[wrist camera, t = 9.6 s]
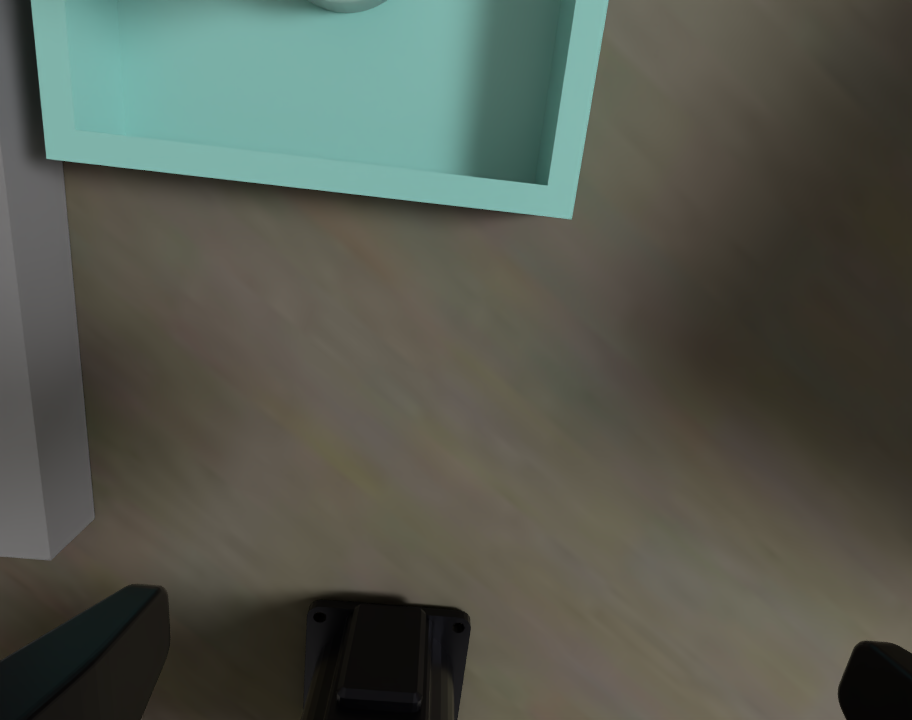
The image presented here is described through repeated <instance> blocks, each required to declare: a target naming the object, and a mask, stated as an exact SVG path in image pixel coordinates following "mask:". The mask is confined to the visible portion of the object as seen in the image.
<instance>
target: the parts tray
mask: <svg viewBox="0 0 912 720" xmlns="http://www.w3.org/2000/svg"><path fill="white" fill-rule="evenodd" d="M607 6H608V0H387V1H386V2H384V3H382V4H380V5H379V6H377V7H374V8H372V9H369V10H366V11H361V12H355V13H341V12H334V11H330V10H326V9H323V8H321V7H318V6H316V5H314V4H312V3H311V2H309V1H307V0H31V7H32V17H33V27H34V37H35V47H36V58H37V68H38V78H39V88H40V98H41V108H42V118H43V128H44V139H45V149H46V159H52V160H61V161H70V162H78V163H87V164H96V165H104V166H113V167H122V168H130V169H139V170H148V171H157V172H165V173H174V174H183V175H191V176H200V177H209V178H217V179H226V180H235V181H243V182H252V183H261V184H270V185H278V186H287V187H296V188H304V189H313V190H322V191H330V192H339V193H348V194H356V195H365V196H374V197H382V198H391V199H400V200H409V201H417V202H426V203H435V204H443V205H452V206H461V207H469V208H478V209H487V210H495V211H504V212H513V213H522V214H530V215H539V216H548V217H556V218H565V219H572V215H573V209H574V203H575V197H576V191H577V185H578V179H579V173H580V167H581V161H582V155H583V149H584V143H585V137H586V131H587V125H588V119H589V114H590V108H591V102H592V96H593V90H594V84H595V78H596V72H597V66H598V60H599V54H600V48H601V42H602V36H603V30H604V24H605V18H606V12H607Z"/></svg>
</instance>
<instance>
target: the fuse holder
mask: <svg viewBox="0 0 912 720" xmlns="http://www.w3.org/2000/svg"><path fill="white" fill-rule="evenodd" d="M94 519H95V514H94V503H93V492H92V481H91V470H90V459H89V448H88V437H87V426H86V415H85V404H84V393H83V382H82V371H81V360H80V349H79V338H78V327H77V316H76V305H75V294H74V283H73V272H72V261H71V250H70V239H69V228H68V217H67V206H66V195H65V184H64V173H63V162H62V161H61V160H52V159H46V149H45V139H44V128H43V118H42V108H41V98H40V88H39V78H38V68H37V58H36V47H35V37H34V27H33V17H32V7H31V0H0V556H2V557H14V558H27V559H39V560H52V559H53V558H54V557H55V556H56V555H57V554H58V553H59V552H60V551H61V550H62V549H63V548H64V547H65V546H66V545H68V544H69V543H70V542H71V541H72V540H73V539H74V538H75V537H76V536H77V535H78V534H79V533H80V532H81V531H82V530H83V529H84V528H85V527H86V526H87V525H88V524H90V523H91V522H92V521H93V520H94Z"/></svg>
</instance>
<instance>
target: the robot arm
mask: <svg viewBox="0 0 912 720" xmlns="http://www.w3.org/2000/svg"><path fill="white" fill-rule="evenodd" d="M317 612H322V613H324V614H325V615H319V614H318V613H317ZM455 623H462V625H459V626H457V625H454V624H455ZM470 630H471V626H470V617H469V615H468V614H467V613H465V612H463V611H459V610H447V609H434V608H421V607H408V606H396V605H383V604H370V603H357V602H344V601H332V600H317V601H315V602H313V603H312V604H311V605H310V608H309V612H308V615H307V630H306V655H305V680H304V705H303V713H302V717H301V720H457V718H458V712H459V705H460V698H461V691H462V684H463V678H464V671H465V664H466V657H467V650H468V644H469V637H470ZM169 646H170V624H169V603H168V594H167V591H166V589H165V588H164V587H162V586H157V585H144V584H131V585H128V586H126V587H124V588H122V589H121V590H119V591H117V592H116V593H114V594H112V595H111V596H109V597H107V598H106V599H104V600H102V601H100V602H99V603H97V604H95V605H94V606H92V607H90V608H89V609H87V610H85V611H84V612H82V613H80V614H78V615H77V616H75V617H73V618H72V619H70V620H68V621H67V622H65V623H63V624H62V625H60V626H58V627H56V628H55V629H53V630H51V631H50V632H48V633H46V634H45V635H43V636H41V637H40V638H38V639H36V640H34V641H33V642H31V643H29V644H28V645H26V646H24V647H23V648H21V649H19V650H18V651H16V652H14V653H12V654H11V655H9V656H7V657H6V658H4V659H2V660H1V661H0V720H141V717H142V715H143V713H144V710H145V708H146V706H147V703H148V701H149V698H150V696H151V694H152V691H153V689H154V687H155V684H156V682H157V679H158V677H159V675H160V672H161V670H162V667H163V665H164V663H165V660H166V657H167V654H168V650H169ZM838 699H839V703H840V707H841V709H842V712H843V714H844V716H845V718H846V720H912V653H910V652H908V651H907V650H905V649H903V648H902V647H900V646H898V645H896V644H893V643H888V642H877V641H862V642H859V643H858V644H857V645H856V646H855V647H854V649H853V651H852V654H851V656H850V659H849V661H848V664H847V666H846V669H845V671H844V674H843V676H842V679H841V681H840V684H839V687H838Z"/></svg>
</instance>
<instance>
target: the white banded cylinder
mask: <svg viewBox="0 0 912 720" xmlns="http://www.w3.org/2000/svg"><path fill="white" fill-rule="evenodd" d="M307 1H309V2H311V3H312V4H314V5H316V6H318V7H321V8H323V9H326V10H330V11H334V12H341V13H355V12H361V11H366V10H369V9H372V8H374V7H377V6H379V5H380V4H382V3H384V2H386V1H387V0H307Z"/></svg>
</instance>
